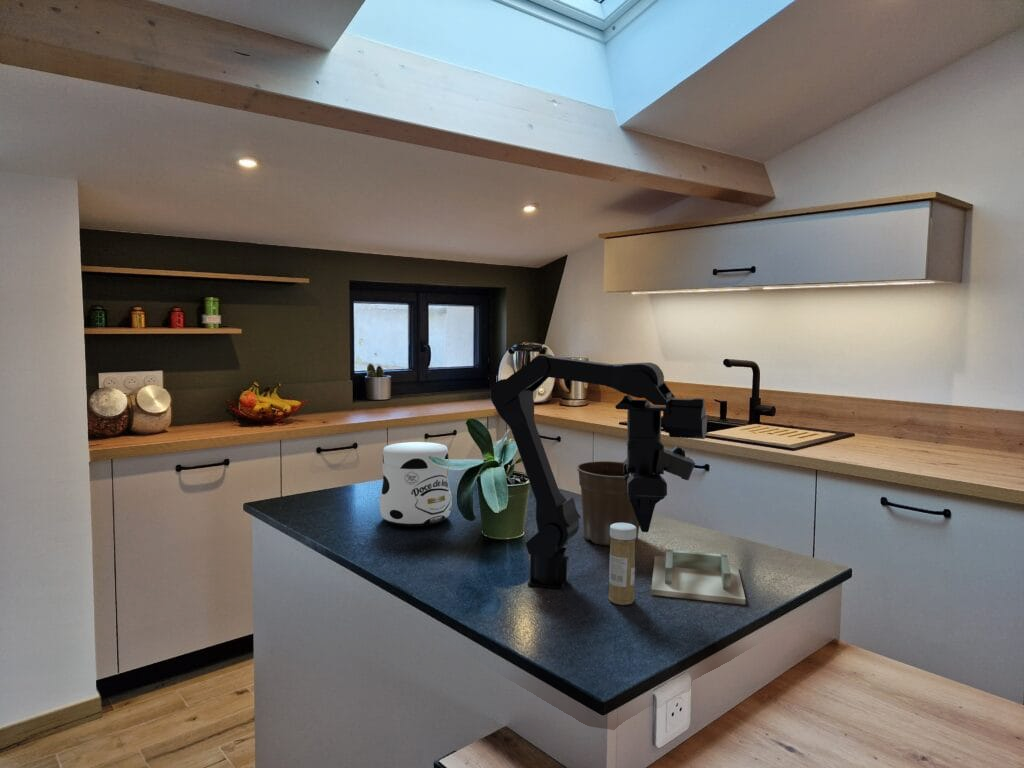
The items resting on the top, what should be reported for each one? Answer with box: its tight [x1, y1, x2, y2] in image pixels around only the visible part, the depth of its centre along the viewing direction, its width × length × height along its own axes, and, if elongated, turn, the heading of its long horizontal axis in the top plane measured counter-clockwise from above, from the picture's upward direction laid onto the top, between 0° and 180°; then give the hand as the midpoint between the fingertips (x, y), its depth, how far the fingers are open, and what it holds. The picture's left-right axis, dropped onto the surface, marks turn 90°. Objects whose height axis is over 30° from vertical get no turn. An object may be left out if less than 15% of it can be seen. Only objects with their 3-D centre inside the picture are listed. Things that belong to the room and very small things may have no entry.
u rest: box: [650, 548, 746, 606], centre depth 128 cm, size 16×18×4 cm
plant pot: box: [576, 460, 640, 547], centre depth 152 cm, size 16×16×16 cm
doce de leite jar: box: [378, 441, 453, 528], centre depth 163 cm, size 17×17×18 cm
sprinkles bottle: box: [608, 523, 636, 606], centre depth 118 cm, size 5×5×14 cm
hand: (642, 523), depth 119 cm, fingers open, 9 cm apart
